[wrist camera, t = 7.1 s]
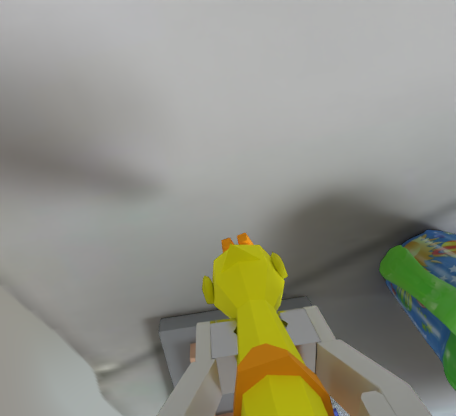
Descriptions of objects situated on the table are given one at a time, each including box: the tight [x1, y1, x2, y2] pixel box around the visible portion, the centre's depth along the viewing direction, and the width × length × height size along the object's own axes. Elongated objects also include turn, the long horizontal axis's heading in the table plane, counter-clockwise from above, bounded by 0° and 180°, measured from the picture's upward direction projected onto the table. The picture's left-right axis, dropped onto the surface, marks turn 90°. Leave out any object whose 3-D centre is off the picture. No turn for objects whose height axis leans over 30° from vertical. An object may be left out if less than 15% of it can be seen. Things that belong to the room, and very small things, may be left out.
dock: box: [159, 296, 312, 416], centre depth 27 cm, size 14×16×3 cm
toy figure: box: [202, 233, 335, 416], centre depth 9 cm, size 7×4×12 cm, turn 19°
